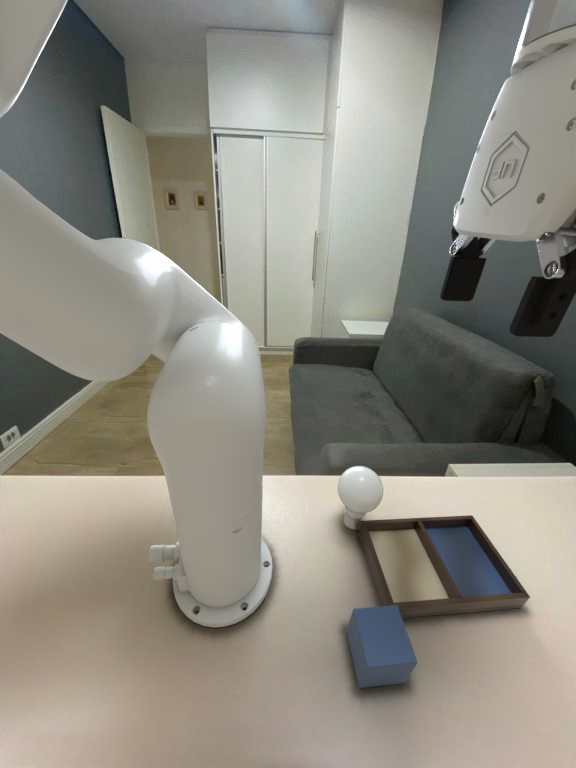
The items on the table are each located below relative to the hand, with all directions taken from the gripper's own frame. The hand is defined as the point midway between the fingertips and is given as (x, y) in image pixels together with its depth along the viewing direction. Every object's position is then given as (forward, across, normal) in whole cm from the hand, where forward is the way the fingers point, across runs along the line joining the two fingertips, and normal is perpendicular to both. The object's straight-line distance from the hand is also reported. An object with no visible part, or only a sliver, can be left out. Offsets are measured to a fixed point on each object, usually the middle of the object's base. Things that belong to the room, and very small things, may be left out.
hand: (487, 314), depth 26 cm
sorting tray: (+35, +2, +5) cm, 35 cm away
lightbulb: (+35, -5, -5) cm, 36 cm away
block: (+35, +11, -7) cm, 37 cm away
